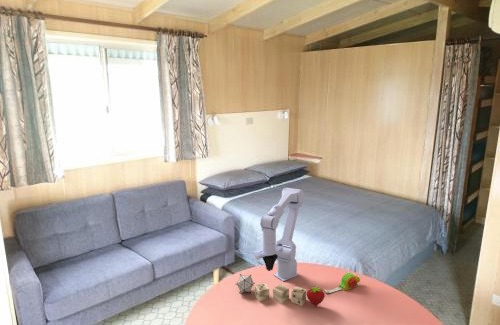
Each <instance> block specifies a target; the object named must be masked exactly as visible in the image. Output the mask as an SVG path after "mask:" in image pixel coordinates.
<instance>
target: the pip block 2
mask: <svg viewBox="0 0 500 325" xmlns="http://www.w3.org/2000/svg"><path fill="white" fill-rule="evenodd" d="M290 295H291V296H290V297H291V298H290V299H291V300H290V301H291V302H290V303H292V304H295V305H298V306H301V307H302V306H304V305H305V302H306V301H307V288H302V287H298V286H295V287H294V288H293V289H292V291H291V292H290Z"/></svg>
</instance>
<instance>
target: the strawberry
mask: <svg viewBox="0 0 500 325" xmlns="http://www.w3.org/2000/svg"><path fill="white" fill-rule="evenodd" d="M325 294H326V293H325V292H324V290H322V289H321V288H319V286H318V287H316V285H314V286H313V287H309V289H308V290H306V299H307V300H308V302H310V304H311V305H312V306H313V307H317V306H319V305H320V304H321V303H323V301H324V299H325V297H326V296H325Z"/></svg>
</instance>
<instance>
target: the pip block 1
mask: <svg viewBox="0 0 500 325" xmlns="http://www.w3.org/2000/svg"><path fill="white" fill-rule="evenodd" d="M254 296H255V297H256V300H257V301H258V302H262V301H267V300H270V288H269V286H268V285H267V284H266V282H263V283H259V284H254Z"/></svg>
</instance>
